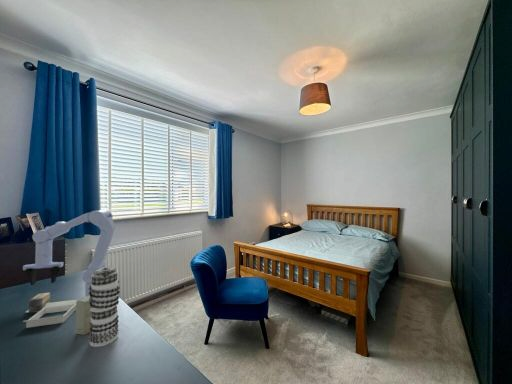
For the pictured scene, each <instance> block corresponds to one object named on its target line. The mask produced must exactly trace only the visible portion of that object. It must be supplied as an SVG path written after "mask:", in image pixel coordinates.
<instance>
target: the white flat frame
mask: <svg viewBox="0 0 512 384" xmlns="http://www.w3.org/2000/svg"><path fill="white" fill-rule="evenodd" d="M79 299H80V298H79ZM79 299H71V300H62V301H55V302H53V301H52V302H50V303H47V304H46V305H45V307H44V308H43V309H42V310H40V311H38V312H36V313H35V314H34V315H33V316H31V317H29V319H28V320H27V319H25V320H22V322H23V323H25V324H26V325H25V326H26V327H25V328H26V329H28V328H35V327H40V326H41V327H42V326H49V325H56V324H63V323H64V322H66V320H67V319H69V318H70V317H71V315H73V313H74V312H76V301H77V300H79ZM59 312H65V313H64V314H63V315H55V316H51V317H50V316H49V317H43V316H44V315H45V314H52V313H59Z"/></svg>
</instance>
